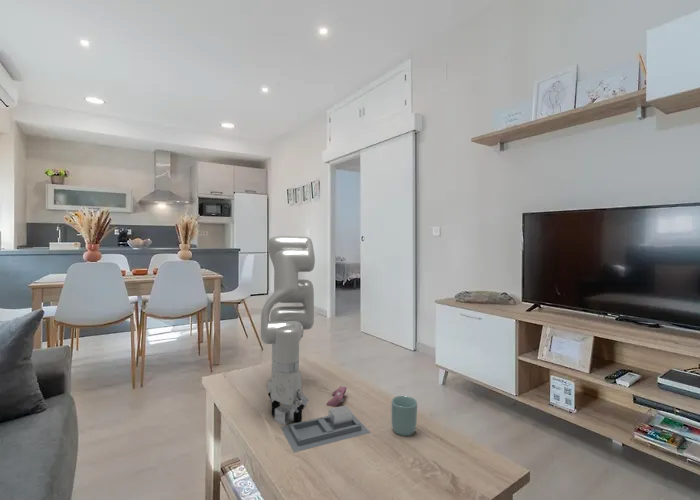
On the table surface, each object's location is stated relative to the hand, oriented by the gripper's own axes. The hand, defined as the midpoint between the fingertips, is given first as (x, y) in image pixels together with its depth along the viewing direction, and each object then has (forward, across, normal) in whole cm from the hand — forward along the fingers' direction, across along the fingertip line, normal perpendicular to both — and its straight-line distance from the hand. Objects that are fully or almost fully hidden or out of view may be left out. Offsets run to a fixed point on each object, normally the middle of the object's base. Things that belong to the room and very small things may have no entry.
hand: (286, 418), depth 113 cm
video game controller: (+2, +6, +20) cm, 21 cm away
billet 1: (+2, 0, 0) cm, 2 cm away
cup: (+2, +34, +16) cm, 38 cm away
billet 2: (0, +16, +7) cm, 18 cm away
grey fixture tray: (+1, +14, +2) cm, 14 cm away
